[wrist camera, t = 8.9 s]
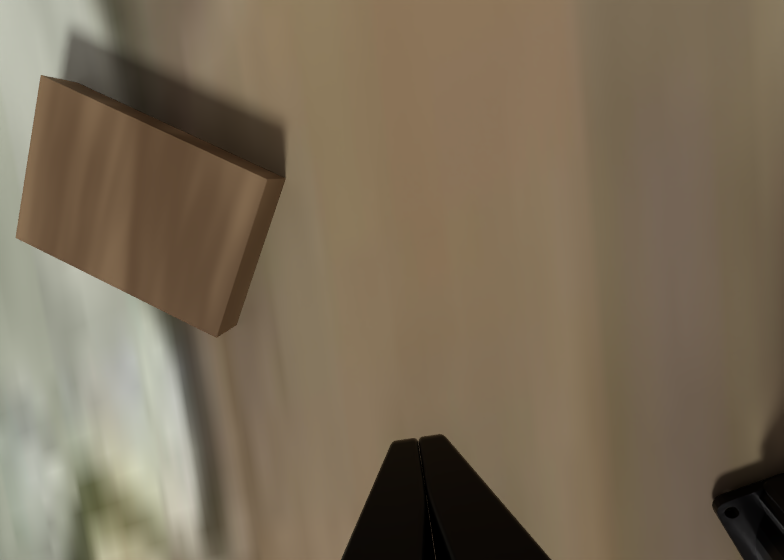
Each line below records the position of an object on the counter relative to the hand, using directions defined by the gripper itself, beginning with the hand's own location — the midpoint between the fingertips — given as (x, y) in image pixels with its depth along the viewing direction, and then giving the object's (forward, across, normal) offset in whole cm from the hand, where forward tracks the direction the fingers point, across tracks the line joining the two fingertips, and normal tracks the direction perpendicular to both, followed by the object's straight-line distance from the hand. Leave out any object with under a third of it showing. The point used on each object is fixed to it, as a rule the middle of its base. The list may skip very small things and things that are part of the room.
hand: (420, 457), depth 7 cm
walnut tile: (+12, +6, 0) cm, 14 cm away
